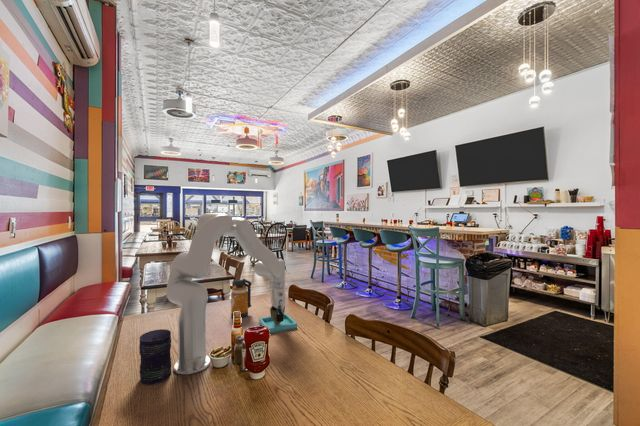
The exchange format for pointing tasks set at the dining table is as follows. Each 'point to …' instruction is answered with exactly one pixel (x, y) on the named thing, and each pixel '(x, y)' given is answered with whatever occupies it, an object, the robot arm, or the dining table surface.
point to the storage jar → (155, 356)
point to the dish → (283, 326)
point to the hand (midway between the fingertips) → (277, 318)
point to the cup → (275, 314)
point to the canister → (241, 297)
